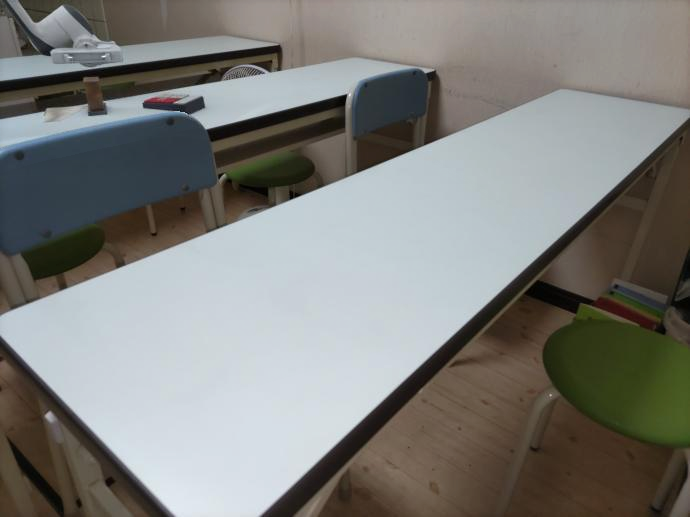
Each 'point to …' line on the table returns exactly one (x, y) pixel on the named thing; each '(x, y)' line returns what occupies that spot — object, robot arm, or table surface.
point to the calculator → (176, 103)
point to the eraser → (94, 96)
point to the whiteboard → (61, 113)
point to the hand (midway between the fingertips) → (87, 59)
